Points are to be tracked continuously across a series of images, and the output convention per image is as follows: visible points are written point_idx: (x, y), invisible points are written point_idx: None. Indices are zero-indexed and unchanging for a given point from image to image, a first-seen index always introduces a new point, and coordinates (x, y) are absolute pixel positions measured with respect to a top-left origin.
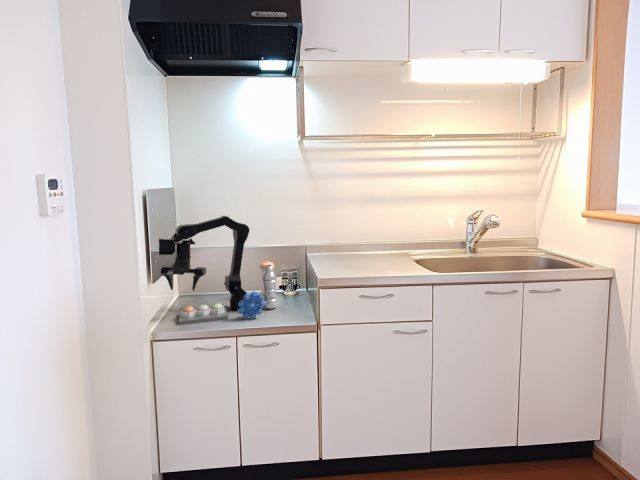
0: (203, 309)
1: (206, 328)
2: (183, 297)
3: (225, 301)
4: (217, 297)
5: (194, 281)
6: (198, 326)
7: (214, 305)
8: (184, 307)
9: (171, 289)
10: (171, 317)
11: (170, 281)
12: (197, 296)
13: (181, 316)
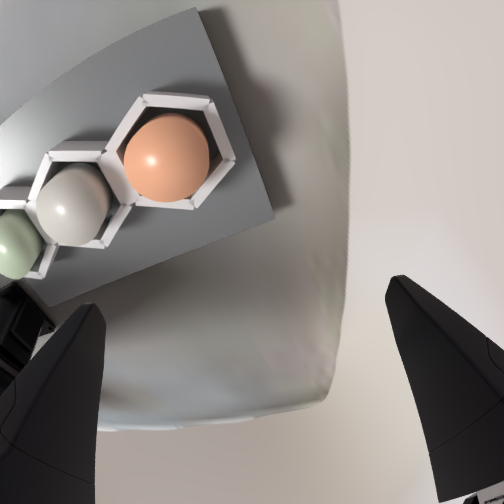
0: (53, 178)
1: (9, 5)
2: (315, 388)
3: (127, 378)
4: (186, 403)
5: (8, 417)
6: (56, 13)
7: (7, 237)
8: (204, 164)
9: (401, 277)
10: (306, 159)
11: (478, 362)
12: (267, 402)
13: (212, 99)
